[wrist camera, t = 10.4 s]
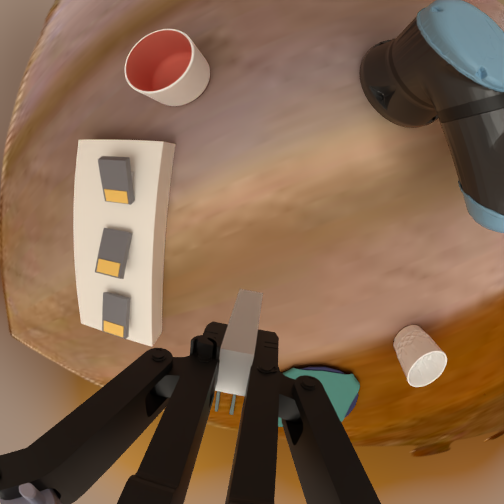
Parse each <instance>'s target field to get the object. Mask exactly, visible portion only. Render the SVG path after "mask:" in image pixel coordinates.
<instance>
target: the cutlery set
mask: <svg viewBox="0 0 504 504" xmlns="http://www.w3.org/2000/svg"><path fill="white" fill-rule="evenodd" d="M282 374H284V375H285V376H287V377H289V378H292V379H296V378H297V377H299V376H303V375H308V376H312V377H315V378H317V379H318V380H319V381H320V382H321V383H322V385H323V387H324V389H325V391H326V393H327V395H328V397H329V399H330V401H331V403H332V405H333V407H334V409H335V411H336V413H337V415H338V417H339V419H340V421H341V422H342V421H343V419H344V418H345V417H346V416H347V415H349V413H350V412H351V411H352V409H353V408H354V407H355V405H356V402H357V399H358V391H359V388H360V384H359V382H358V380H357V379H356V378H355V376H354V374H348V375H347V374H345V373H343V372H342V371H340V370H337V369H333V368H329V367H305V368H300V369H295V368H291V369H290V370H288V371H286V372H284V373H282ZM235 397H236V395H235V394H233V399H232V404H231V409H230V413H229V414H231V415H233V411H234V404H235ZM219 398H220V391H217V397H216V405H215V411H217V412H218V405H219ZM278 426H280V427H283V425H282V421H281V418H279V417H278Z"/></svg>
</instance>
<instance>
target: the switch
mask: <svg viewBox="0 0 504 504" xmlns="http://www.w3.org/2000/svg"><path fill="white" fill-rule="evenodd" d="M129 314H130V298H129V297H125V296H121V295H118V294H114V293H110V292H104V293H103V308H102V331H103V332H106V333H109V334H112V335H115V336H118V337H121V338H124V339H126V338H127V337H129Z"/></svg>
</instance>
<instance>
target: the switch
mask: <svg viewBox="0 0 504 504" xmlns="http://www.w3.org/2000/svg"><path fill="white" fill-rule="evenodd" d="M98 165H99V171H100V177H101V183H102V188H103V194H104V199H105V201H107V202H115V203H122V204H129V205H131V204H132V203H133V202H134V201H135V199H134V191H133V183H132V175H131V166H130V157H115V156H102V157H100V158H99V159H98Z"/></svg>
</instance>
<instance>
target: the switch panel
mask: <svg viewBox="0 0 504 504" xmlns="http://www.w3.org/2000/svg"><path fill="white" fill-rule="evenodd" d="M175 145H176V144H173V143H168V142H163V141H144V140H79V143H78V151H77V161H76V172H75V187H74V258H75V273H76V285H77V294H78V303H79V311H80V318H81V323H82V324H85V325H87V326H90V327H93V328H96V329H99V330H101V331H102V308H103V293H104V292H110V293H114V294H118V295H121V296H125V297H129V298H130V314H129V337H127V338H126V339H129V340H132V341H135V342H138V343H142V344H145V345H149V346H153V345H154V343H155V342H156V340H157V339H158V338H159V336H160V335H161V333H162V296H163V269H164V251H165V236H166V223H167V212H168V202H169V192H170V183H171V175H172V167H173V159H174V152H175ZM102 156H115V157H130V166H131V175H132V183H133V191H134V199H135V201H134V202H133V203H132V204H131V205H129V204H122V203H115V202H107V201H105V199H104V194H103V188H102V183H101V177H100V171H99V165H98V159H99V158H100V157H102ZM104 228H109V229H114V230H120V231H125V232H130V233H132V239H131V244H130V248H129V253H128V258H127V263H126V269H125V274H124V279H119V278H115V277H111V276H107V275H103V274H100V273H96V272H95V268H96V262H97V257H98V252H99V247H100V243H101V238H102V233H103V229H104Z"/></svg>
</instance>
